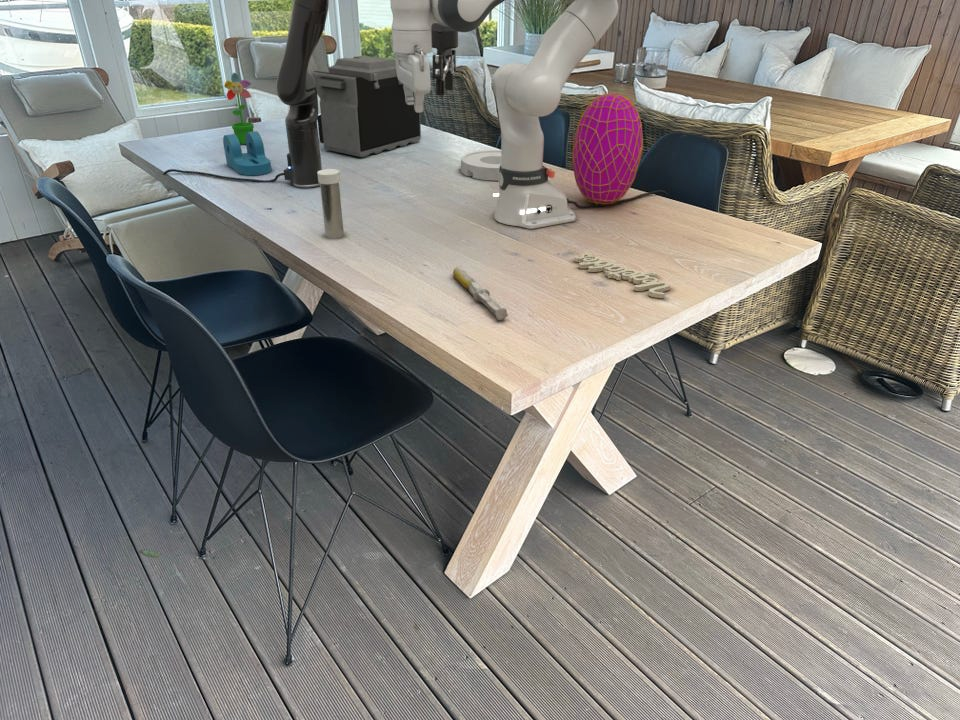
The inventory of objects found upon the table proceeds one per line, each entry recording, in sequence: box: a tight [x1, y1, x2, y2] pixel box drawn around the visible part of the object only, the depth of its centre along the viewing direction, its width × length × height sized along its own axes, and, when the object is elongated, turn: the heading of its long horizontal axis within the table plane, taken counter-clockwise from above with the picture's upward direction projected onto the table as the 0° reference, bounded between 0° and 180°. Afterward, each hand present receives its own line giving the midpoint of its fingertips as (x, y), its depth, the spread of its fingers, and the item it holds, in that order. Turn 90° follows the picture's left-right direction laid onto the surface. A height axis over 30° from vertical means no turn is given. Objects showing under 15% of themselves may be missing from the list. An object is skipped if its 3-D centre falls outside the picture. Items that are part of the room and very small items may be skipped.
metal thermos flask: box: [319, 182, 345, 240], centre depth 172 cm, size 5×5×16 cm
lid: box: [317, 168, 341, 184], centre depth 168 cm, size 5×5×2 cm
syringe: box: [452, 266, 509, 321], centre depth 145 cm, size 25×4×3 cm, turn 21°
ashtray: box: [460, 149, 501, 182], centre depth 229 cm, size 23×23×4 cm
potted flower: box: [223, 72, 255, 145], centre depth 254 cm, size 9×8×25 cm
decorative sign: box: [574, 252, 671, 299], centre depth 155 cm, size 26×1×10 cm
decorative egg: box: [571, 92, 644, 205], centre depth 194 cm, size 19×19×30 cm
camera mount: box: [222, 131, 272, 176], centre depth 226 cm, size 18×10×10 cm, turn 35°
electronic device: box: [310, 55, 422, 159], centre depth 250 cm, size 37×22×30 cm, turn 144°
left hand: (444, 92), depth 191 cm, fingers open, 8 cm apart
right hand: (414, 108), depth 161 cm, fingers open, 8 cm apart
